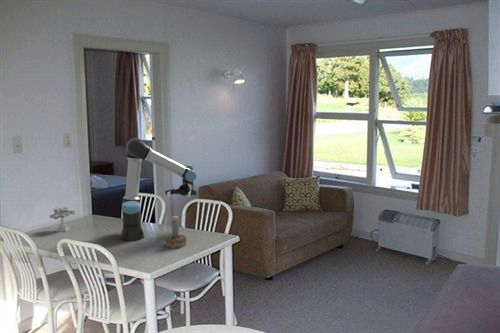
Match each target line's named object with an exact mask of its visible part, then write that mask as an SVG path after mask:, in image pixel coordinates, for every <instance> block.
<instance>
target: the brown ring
mask: <svg viewBox="0 0 500 333" xmlns="http://www.w3.org/2000/svg"><path fill="white" fill-rule="evenodd" d="M164 239H165V241H164V242H165V243H164V244H165V246H166V247H167V248H171V249H178V248H183V247H185V246H187V236H186V235H185V234H179V238H172V234H168V236H166V237H164Z"/></svg>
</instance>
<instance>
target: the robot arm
mask: <svg viewBox="0 0 500 333" xmlns="http://www.w3.org/2000/svg"><path fill="white" fill-rule="evenodd" d="M125 158H126V159H127V171H126V172H127V173H126V184H125V194H124V196H123V197H122V204H121V216H122V217H121V218H122V227H121V228H122V229H121V233H120V240H121V241H125V240H126V241H127V242H128V241H129V242H131V241H133V242H134V241H140V240H142V239H144V238H145V233H144V229H143V227H142V219H141V218H142V216H141V196H140V195H139V192H140V182H141V181H140V179H141V168H142V161H148V162H150V163H152V164H154V165H156V166H158V167H160V168H162V169H163V170H167V171H169V172H170V173H173V174H174V175H176V176H177V177H181V179H182V181H181V182H182V184H181V185H180V186H179V187H178V188H173V189H172V188H171V189H167V190H165V195H166V197H167V198H169V197H171V195H181V196H183V197H185V196H187V198H190V197H192V196H197V191H196V190H195V183H194V181H195V180H197V173H196V171H195V170H194V166H193V164H190V163H189V164H188V163H187V164H181V163H179V162H177V161H175V160H173V159H171V158H169V157H167V156H165V155H163V154H161V153H160V152H157V151H156V150H154V149H153V148H152V147H151V146H149V145H148V144H146V143H145V142H144V140H143V139H141V138H138V137H133V138H130V139H129V140H128V141H127V143H126V156H125Z"/></svg>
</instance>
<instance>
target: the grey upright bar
mask: <svg viewBox="0 0 500 333" xmlns="http://www.w3.org/2000/svg"><path fill="white" fill-rule="evenodd" d="M179 225H180V223H179V216H178V215H172V216H171V231H172V232H171V233H172V234H171V235H172V238H179V235H180V231H179V229H180V228H179Z"/></svg>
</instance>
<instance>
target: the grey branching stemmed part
mask: <svg viewBox="0 0 500 333" xmlns="http://www.w3.org/2000/svg"><path fill="white" fill-rule="evenodd" d="M52 210H53V213H52V214H48V217H49V219H53V220H59V219H60V225H59V227H58V228H57V229H56V231H55V232H58V233H61V232H69V231H70V230H71V228H70V227H69V226H68V225H66V224H65V221H64V218H67V217H71V215H72V216H73V215H74V216H75V213H76V211H75V210H73V209H70V208H69V207H67V206H63V207H59V206H58V207H55V208H53V209H52Z"/></svg>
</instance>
